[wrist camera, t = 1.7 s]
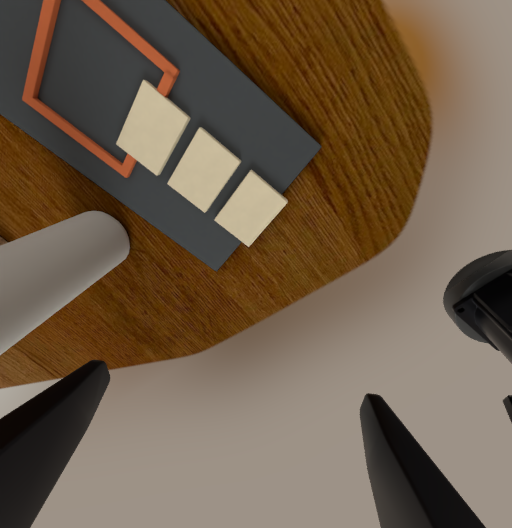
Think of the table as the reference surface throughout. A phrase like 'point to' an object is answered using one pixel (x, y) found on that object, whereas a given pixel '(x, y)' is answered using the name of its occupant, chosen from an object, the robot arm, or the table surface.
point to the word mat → (151, 116)
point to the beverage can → (55, 269)
